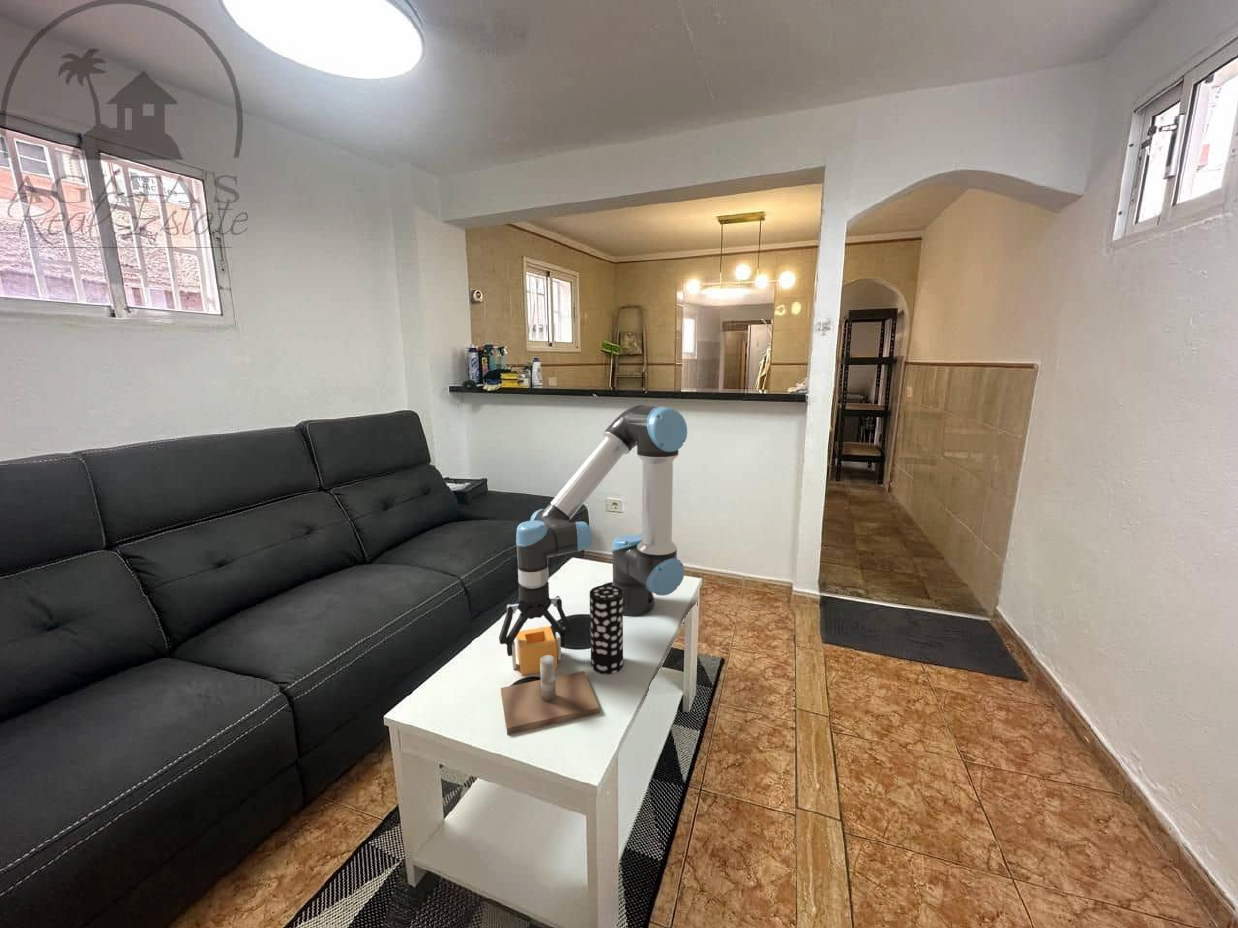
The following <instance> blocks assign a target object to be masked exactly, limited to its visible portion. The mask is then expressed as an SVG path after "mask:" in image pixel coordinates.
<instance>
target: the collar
mask: <svg viewBox="0 0 1238 928" xmlns="http://www.w3.org/2000/svg"><path fill="white" fill-rule="evenodd" d="M515 639H516V658H517V661H518V665H519V670H520V674H521V676H526V675H531V674H536V673H540V658H541V657H543V656H546V655H550V656H553V657H554V664H555V670H556V669H558V658H557V643H556V637H555V636H554V633H553V631H552V628H551V626H550V625H549V626H544V627H538V628H532V629H526V630H520V631H519V633H518V635H517V636H516V638H515Z"/></svg>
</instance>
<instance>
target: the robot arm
mask: <svg viewBox="0 0 1238 928" xmlns="http://www.w3.org/2000/svg"><path fill="white" fill-rule="evenodd" d="M602 434H603V435H602V436H603V438H602V439H601V441H600V442H599V443H598V444H597V446H596V447H595V448H594V449H593V450H592V452H591V453H590V454H589V455H588V457H586V459H585V460H584V461H583V462H582V464H581V465H580V466H579V468H578V469H576V471H575V472H574V473H573V475H572V476H571V477H570V478H569V480H568V481H566V483H565V485H563V487H562V488H561V489H560V491H558V493H557V494H556V495H555V496H554V498H553V499H551V501H550V503H548V505H547V506H546V507H545V508H540V509H538V510H536V511H534V512H533V513H532V515H531V516H530V520H526V521H523V522H521V523H519V525H517V528H516V535H515V536H516V537H515V539H516V540H515V544H516V555H517V575H518V578H517V581H518V602H517V603H514V604H511V603H510V602H509V603H507V604H506V613H505V617H504V620H503V623H502V627H501V630H500V632H499V633H500V634H499V636H498V640H499V644H500V645H506V653H507V656H508V657H511V664H512V669H513V670H515V669H517V651H516V644H515V639H516V636H517V635H518V633H519V631H522V630H521V629H522V628H523V626H524V624H526V623H527V621H528V619H529V620H532V619H536V618H537V619H538V618H542V617H544V618H545V619H546V620H547V621H548V622H549V623H550V625H551V626H552V627H553V629H555V631H556V632H555V641H556V643H557V661H561V660H562V647H565V637H566V634H567V633H568V634H569V633H571V632H572V628H571V626H570V623H569V621H568V619H567V616H566V614H565V612H564V610H563V601H562V599H561V596H559V595H557V596H555V597H554V598H550V588H549V587H550V586H549V585H550V583H549V580H550V579H549V558H553V557H558V556H562V555H567V554H572V553H573V554H574V553H579V552H581V551H584V550H587V549H589V548H590V547H591V545H592V542H593V538H592V537H593V536H592V535H593V534H592V530H591V528H590V525H589V524H588V523H587V522H585V521H575V522H570V521H571V520H572V518H573V517H574V516H575V514H577V512H578V511H579V510H580V508H581V507H582V506H583V505H584V504H585V502H586V501H587V500H588V498H589V497H590V496H591V495H592V494H593V492H594V491H595V490H596V489H597V488H598V486H599V485H600V483H602V481H603V480H604V479H605V478H606V477H607V475H608V474H609V472H610V471H611V470H613V467H614V466H615V465H616V464H617V463H618V461H619V460H620V459H621V457H622V456H623V455H629V453H630V452H631V451H632V449H633V448H635V447H636V455H637V457H638V458H640V459H641V462H642V479H641V481H642V487H641V488H642V489H641V490H642V491H641V493H642V496H641V497H642V498H641V499H642V501H641V503H642V512H641V514H642V517H641V519H642V525H641V528H642V529H641V531H642V533H641V534H640V533H639V534H638V533H633V534H630V533H629V534H624V535H619V536H617V537H616V538H614V539H613V541H612V547H611V551H612V583H611V585H612V586H616V587H619V588H620V589H622V591H623V616H633V617H634V616H640V615H645V614H647V613H650V612H651V611H652V610H653V609H654V607H655V596H654V595H657V596H661V597H662V596H668V595H670V594H672V593H674V592H675V591H676V590H677V589H678V587H679V586H681V584H682V582H683V580H684V577H685V566H684V564H683V563H682V561H681V560H680V559H679V558H677V557H678V556H677V555H678V552H677V551H678V547H677V545H676V543H674V542H673V486H674V485H673V482H674V481H673V480H674V477H673V475H674V472H673V471H674V466H673V465H674V460H675V459H677V457H678V456H679V449H681V448H682V447H683V446H684V443H685V442H686V440H687V437H688V426H687V423H686V419H685V418H684V417H683V415H682V414H681V413H680V412H679V411H678V410H676V409H674V408H670V407H667V406H661V405H660V406H659V405H657V406H656V405H645V404H638V405H636V404H635V405H633V406H630V407H628V408H627V409H626V410H624V411H623V412H622V413H620V414H619V415H618V416H616V418H615V419H614V420H613V421H612V422H611V423H610V425H608V427H607V428H606V429H605V430H604V432H603V433H602ZM551 605H552V606H553V607H554V608H556V610H557V611H558V614H559V616H560V618H561V620H562V621H561V622H562V624H563V626H561V625H560V624H559V622H558V621H557V620H556V619H555V618H554V616H553V615H552V614H551V612H550V610H549V608H550V607H551ZM517 610H518V611H520V613H519V616H518V618H517V620H516V621H515V623H514V625H513V627H512V628H511V623H512V620H513V615H514V614H516V611H517ZM510 628H511V629H510ZM509 630H510V631H509Z"/></svg>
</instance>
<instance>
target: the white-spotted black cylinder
mask: <svg viewBox="0 0 1238 928" xmlns="http://www.w3.org/2000/svg"><path fill="white" fill-rule="evenodd" d="M589 631H590V634H589V635H590V668H591V669H592V670H593V671H594V672H596V673H597V674H601V675H611V674H616V673H618V672H620V670H622V668H623V667H624V615H623V591H622V589H620V588H619V587H616V586H612V584H603V585H602V584H601V585H598V586H595V587H593V588H591V589H590V591H589Z"/></svg>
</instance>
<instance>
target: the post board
mask: <svg viewBox="0 0 1238 928" xmlns="http://www.w3.org/2000/svg"><path fill="white" fill-rule="evenodd" d="M539 673H540V679H538V680H533V681H528V682H523V683H518V684H514V685H509V686H504V687H501V688H500V696H501V701H502V708H503V714H504V722H505V727H506V736H507V735H511V734H517V733H520V732H525V731H529V730H533V729H537V728H542V727H545V726H551V725H554V724H555V725H556V724H559V723H563V722H568V721H572V720H577V719H581V718H585V717H590V716H593V715H599V714H600V706H599V703H598V701H597V699H596V696H595V694H594V692H593V689H592V688H591V687H592V686H591V685H590V683H589V680H588V679H587V675H586V673H585V672H584V671H577V672H573V673H569V674H563V675H558V676H556V674H555V673H556V669H555V664H554V657H553V656H550V655H546V656H543V657H541V658H540V672H539Z"/></svg>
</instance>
